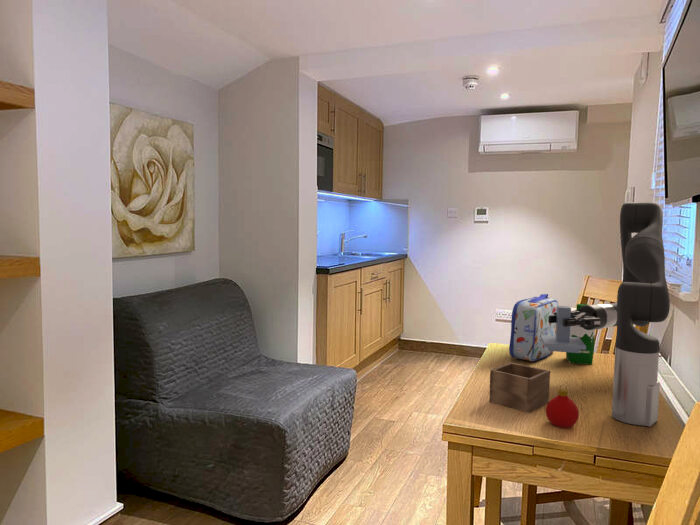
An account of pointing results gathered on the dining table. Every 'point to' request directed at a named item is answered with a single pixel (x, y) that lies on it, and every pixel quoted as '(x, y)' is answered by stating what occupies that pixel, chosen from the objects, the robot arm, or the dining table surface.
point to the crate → (519, 387)
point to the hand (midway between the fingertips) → (556, 321)
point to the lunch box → (532, 327)
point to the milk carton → (586, 338)
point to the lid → (563, 335)
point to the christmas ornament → (562, 410)
